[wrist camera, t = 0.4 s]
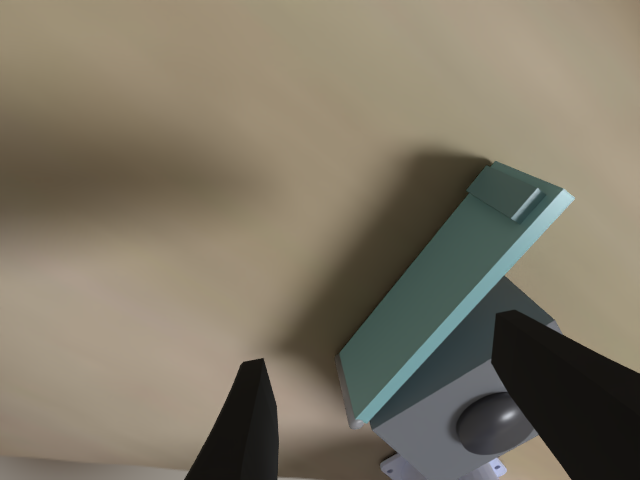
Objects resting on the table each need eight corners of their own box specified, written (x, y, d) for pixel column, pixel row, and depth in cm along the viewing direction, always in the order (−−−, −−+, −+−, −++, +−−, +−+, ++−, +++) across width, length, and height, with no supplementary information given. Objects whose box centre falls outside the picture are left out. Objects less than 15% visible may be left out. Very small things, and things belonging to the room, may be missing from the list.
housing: (536, 338, 26) (607, 410, 20) (409, 414, 28) (443, 499, 22) (492, 265, 22) (563, 328, 17) (351, 357, 24) (374, 440, 19)
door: (505, 168, 19) (575, 198, 15) (343, 364, 24) (359, 431, 20) (487, 154, 19) (554, 181, 14) (326, 357, 24) (338, 424, 19)
